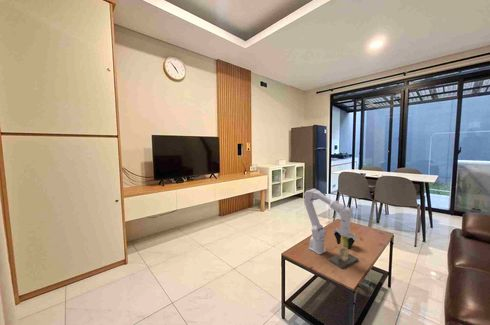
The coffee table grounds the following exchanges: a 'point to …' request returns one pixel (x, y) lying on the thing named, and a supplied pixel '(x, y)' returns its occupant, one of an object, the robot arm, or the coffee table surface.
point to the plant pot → (345, 241)
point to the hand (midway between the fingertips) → (344, 246)
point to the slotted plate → (341, 263)
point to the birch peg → (343, 254)
